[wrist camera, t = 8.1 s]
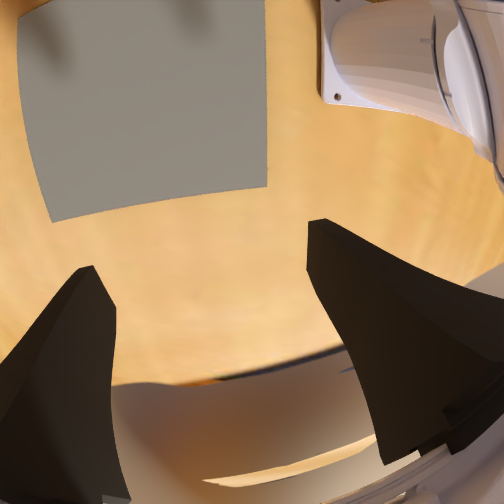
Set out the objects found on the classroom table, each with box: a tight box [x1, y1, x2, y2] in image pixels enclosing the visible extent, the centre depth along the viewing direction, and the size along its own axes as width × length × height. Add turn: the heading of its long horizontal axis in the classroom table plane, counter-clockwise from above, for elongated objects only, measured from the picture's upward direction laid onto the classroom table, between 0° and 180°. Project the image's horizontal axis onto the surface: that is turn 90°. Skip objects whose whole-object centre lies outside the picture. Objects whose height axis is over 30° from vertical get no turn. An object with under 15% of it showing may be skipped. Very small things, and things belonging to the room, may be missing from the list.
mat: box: [17, 0, 267, 223], centre depth 12 cm, size 15×15×1 cm
